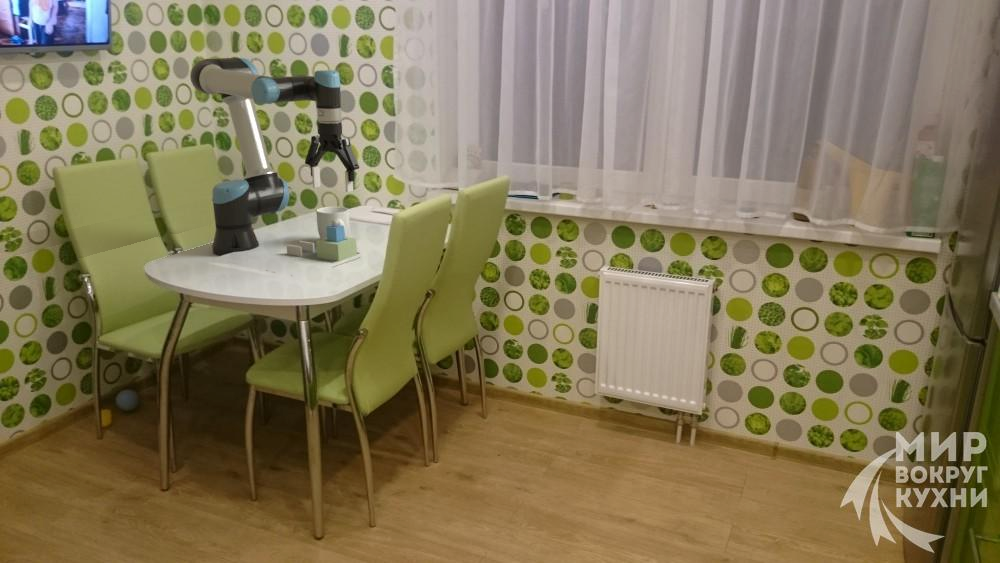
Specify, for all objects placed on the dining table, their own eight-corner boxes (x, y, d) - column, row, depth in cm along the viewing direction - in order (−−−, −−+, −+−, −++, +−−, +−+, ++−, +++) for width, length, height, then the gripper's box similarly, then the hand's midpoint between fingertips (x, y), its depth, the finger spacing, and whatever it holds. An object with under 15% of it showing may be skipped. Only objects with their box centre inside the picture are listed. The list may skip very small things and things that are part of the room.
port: (317, 257, 262) (316, 241, 261) (335, 251, 270) (334, 235, 268) (338, 261, 258) (337, 244, 256) (356, 254, 265) (356, 238, 264)
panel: (286, 258, 266) (285, 245, 265) (315, 249, 278) (314, 236, 276) (332, 267, 257) (331, 253, 255) (360, 257, 268) (360, 244, 267)
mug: (360, 250, 277) (358, 212, 273) (330, 254, 271) (327, 216, 267) (343, 240, 289) (341, 205, 285) (313, 245, 283) (311, 208, 279)
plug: (328, 256, 263) (326, 220, 259) (336, 253, 266) (334, 218, 263) (337, 258, 261) (335, 222, 258) (345, 255, 264) (343, 219, 261)
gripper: (291, 120, 254) (295, 186, 260) (352, 125, 242) (356, 195, 248) (307, 118, 260) (311, 183, 266) (368, 123, 248) (371, 191, 255)
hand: (333, 189), depth 257 cm, fingers open, 13 cm apart
